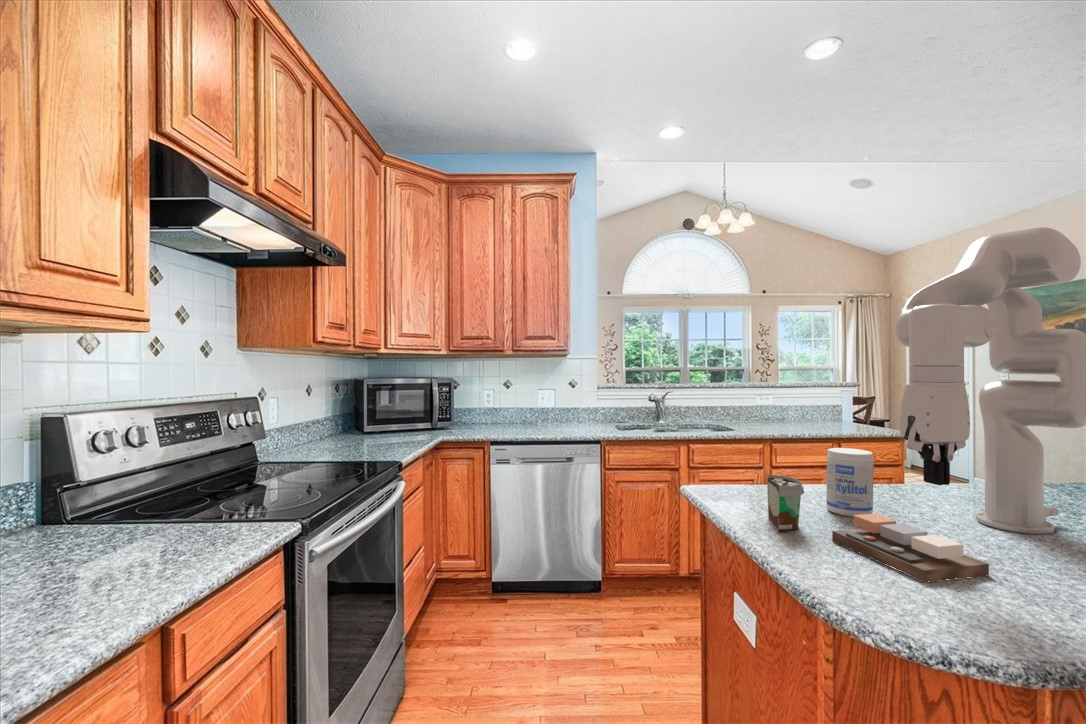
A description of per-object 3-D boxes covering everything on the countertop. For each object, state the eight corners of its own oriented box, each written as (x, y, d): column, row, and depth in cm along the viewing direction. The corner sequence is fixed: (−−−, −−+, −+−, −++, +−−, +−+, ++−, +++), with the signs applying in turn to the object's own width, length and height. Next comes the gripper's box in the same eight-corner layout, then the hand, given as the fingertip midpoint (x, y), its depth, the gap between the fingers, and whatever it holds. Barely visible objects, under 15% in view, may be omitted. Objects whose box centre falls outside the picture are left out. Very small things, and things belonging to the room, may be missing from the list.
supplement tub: (836, 517, 119) (835, 453, 119) (820, 506, 128) (819, 447, 128) (881, 519, 117) (881, 454, 117) (862, 507, 127) (862, 447, 127)
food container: (812, 536, 106) (812, 488, 106) (780, 534, 107) (780, 486, 107) (795, 518, 118) (795, 475, 118) (766, 517, 119) (766, 474, 119)
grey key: (902, 533, 98) (902, 523, 98) (927, 543, 93) (927, 531, 93) (880, 535, 97) (880, 525, 97) (904, 545, 92) (903, 533, 92)
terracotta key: (874, 523, 104) (874, 513, 104) (896, 531, 99) (896, 521, 99) (853, 525, 103) (853, 515, 103) (873, 533, 98) (873, 522, 98)
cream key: (935, 545, 91) (935, 534, 91) (963, 556, 86) (963, 544, 86) (911, 548, 90) (911, 536, 90) (938, 558, 86) (938, 546, 86)
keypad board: (887, 536, 106) (887, 522, 106) (988, 575, 86) (988, 558, 86) (832, 540, 103) (832, 526, 103) (924, 582, 84) (924, 564, 84)
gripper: (950, 375, 94) (951, 476, 94) (880, 376, 91) (880, 480, 91) (994, 376, 86) (995, 486, 86) (919, 377, 83) (919, 491, 83)
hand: (936, 483), depth 88 cm, fingers closed
